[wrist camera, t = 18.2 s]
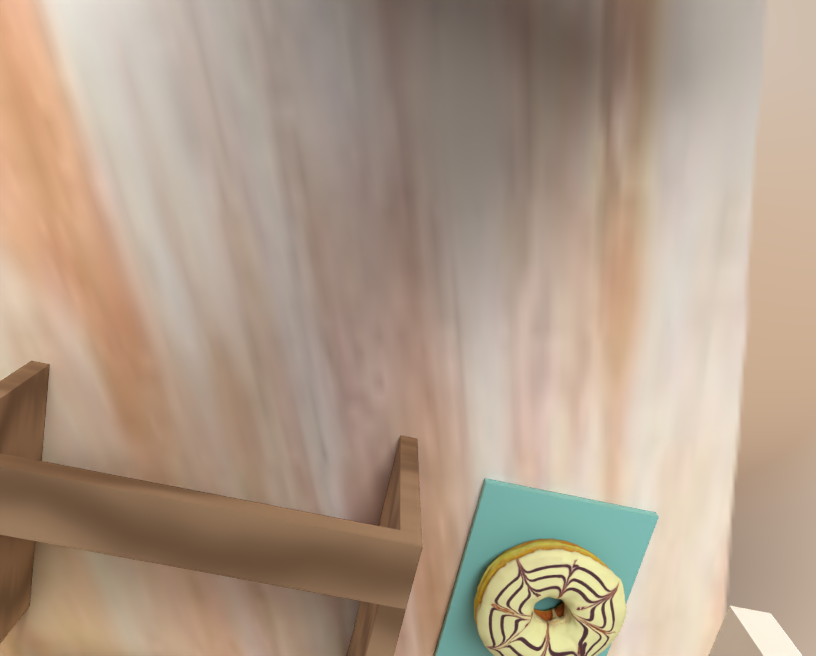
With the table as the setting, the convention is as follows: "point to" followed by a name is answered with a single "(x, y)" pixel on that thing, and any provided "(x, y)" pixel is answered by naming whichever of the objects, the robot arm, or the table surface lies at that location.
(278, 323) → the table surface
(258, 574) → the box
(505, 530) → the mat
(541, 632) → the decorated donut
